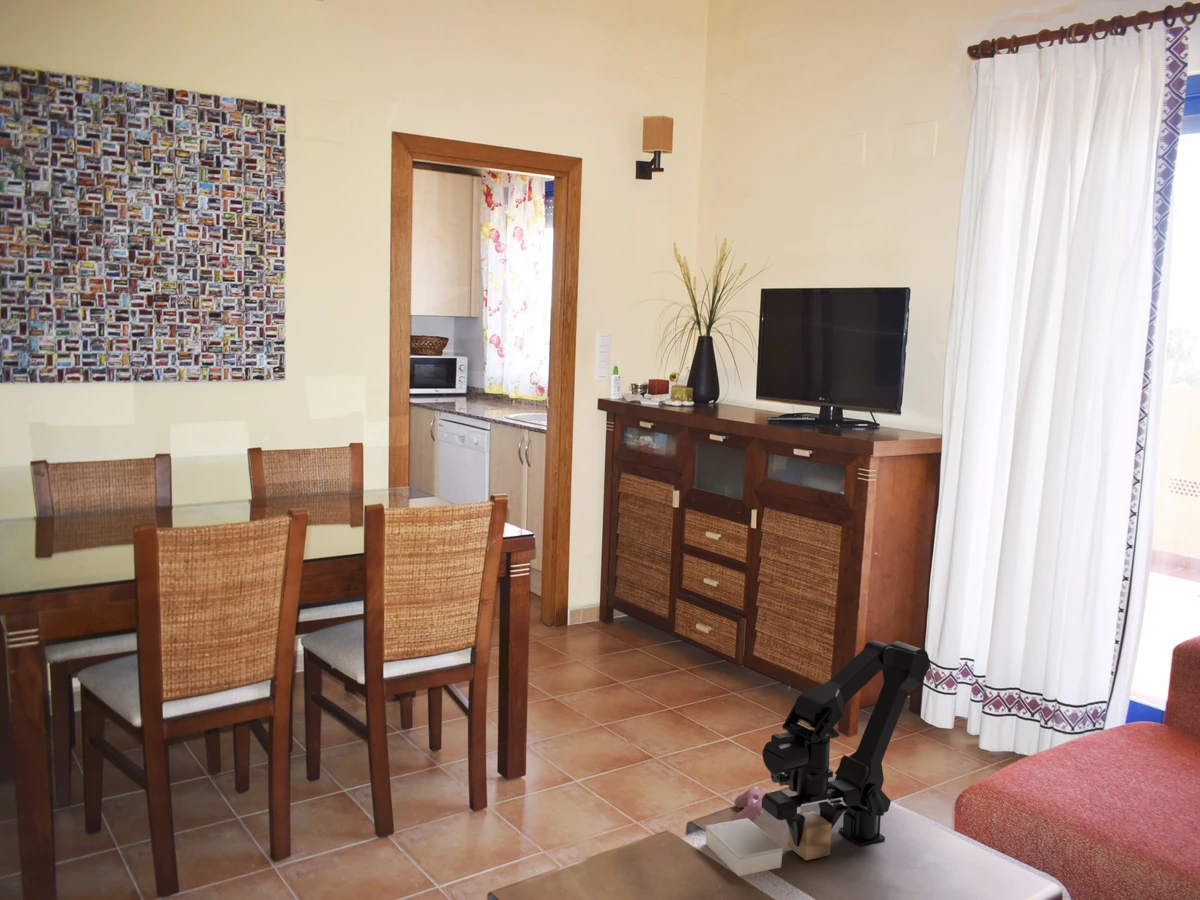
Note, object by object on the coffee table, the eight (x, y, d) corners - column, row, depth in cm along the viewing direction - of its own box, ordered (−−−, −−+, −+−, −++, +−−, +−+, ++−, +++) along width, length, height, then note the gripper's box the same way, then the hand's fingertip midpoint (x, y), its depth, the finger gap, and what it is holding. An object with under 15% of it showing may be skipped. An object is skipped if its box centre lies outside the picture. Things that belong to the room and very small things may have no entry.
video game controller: (750, 837, 189) (767, 808, 188) (729, 824, 189) (747, 796, 188) (752, 814, 198) (768, 786, 197) (732, 802, 199) (749, 775, 198)
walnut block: (812, 841, 183) (813, 811, 183) (829, 854, 178) (831, 824, 178) (788, 846, 181) (789, 815, 180) (805, 860, 176) (807, 829, 175)
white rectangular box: (746, 837, 186) (747, 818, 185) (781, 869, 175) (782, 848, 174) (705, 845, 182) (705, 825, 182) (738, 878, 171) (739, 856, 171)
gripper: (827, 739, 189) (823, 815, 191) (747, 752, 182) (743, 831, 183) (864, 761, 179) (860, 841, 180) (780, 776, 171) (777, 859, 173)
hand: (809, 842), depth 179 cm, fingers closed on walnut block, 5 cm apart
